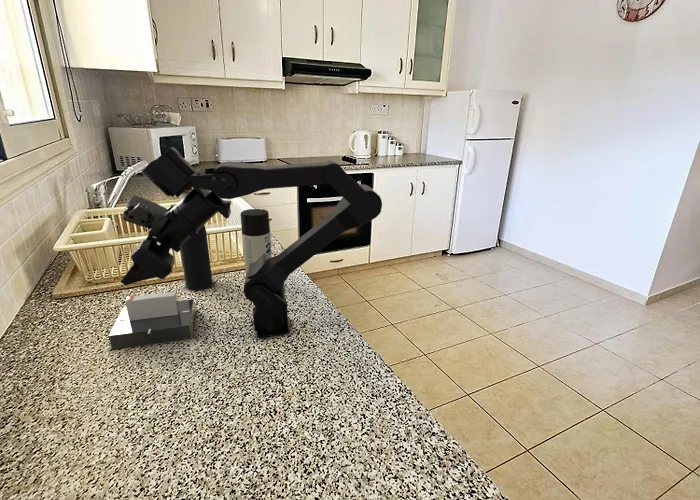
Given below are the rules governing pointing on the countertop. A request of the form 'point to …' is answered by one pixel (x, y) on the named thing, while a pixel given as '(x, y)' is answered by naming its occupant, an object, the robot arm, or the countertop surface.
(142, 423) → the countertop surface
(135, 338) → the block
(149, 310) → the knob
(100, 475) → the countertop surface
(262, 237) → the spray can
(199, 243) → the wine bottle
